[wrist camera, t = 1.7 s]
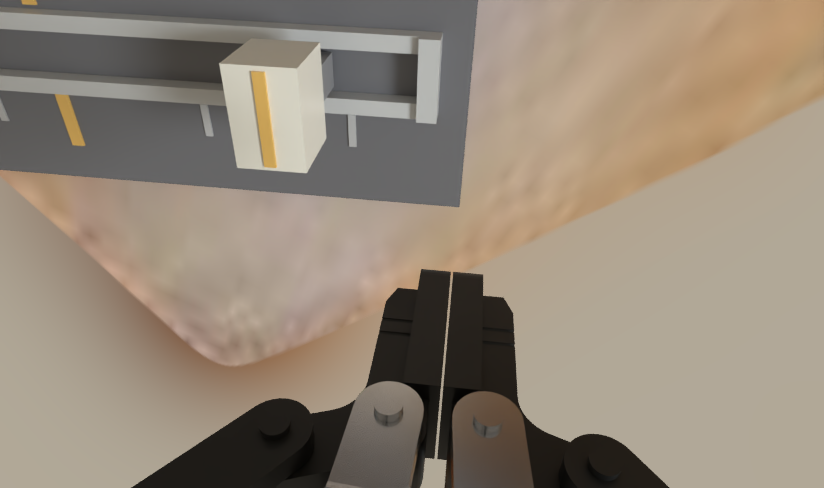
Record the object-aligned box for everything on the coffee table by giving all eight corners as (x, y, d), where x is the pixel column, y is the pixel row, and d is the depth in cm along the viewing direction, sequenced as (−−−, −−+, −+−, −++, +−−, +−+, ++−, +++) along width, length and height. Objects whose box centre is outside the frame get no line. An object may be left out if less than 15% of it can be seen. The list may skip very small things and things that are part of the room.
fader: (274, 19, 26) (217, 64, 21) (336, 23, 26) (296, 69, 21) (284, 108, 29) (236, 169, 23) (340, 112, 29) (305, 174, 23)
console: (-177, -133, 27) (-253, -132, 24) (487, -108, 24) (487, -102, 22) (-40, 150, 36) (-84, 175, 33) (460, 189, 33) (458, 220, 30)
